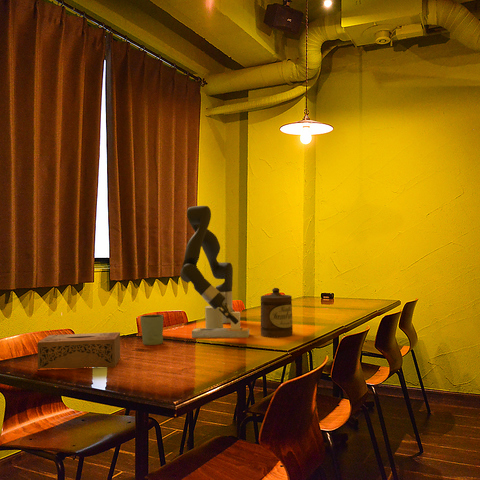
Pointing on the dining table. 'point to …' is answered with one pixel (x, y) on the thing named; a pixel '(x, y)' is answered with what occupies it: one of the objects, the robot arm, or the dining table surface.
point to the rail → (220, 333)
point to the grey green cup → (152, 329)
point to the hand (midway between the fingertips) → (238, 321)
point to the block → (237, 326)
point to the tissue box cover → (79, 350)
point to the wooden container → (276, 315)
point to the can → (213, 317)
